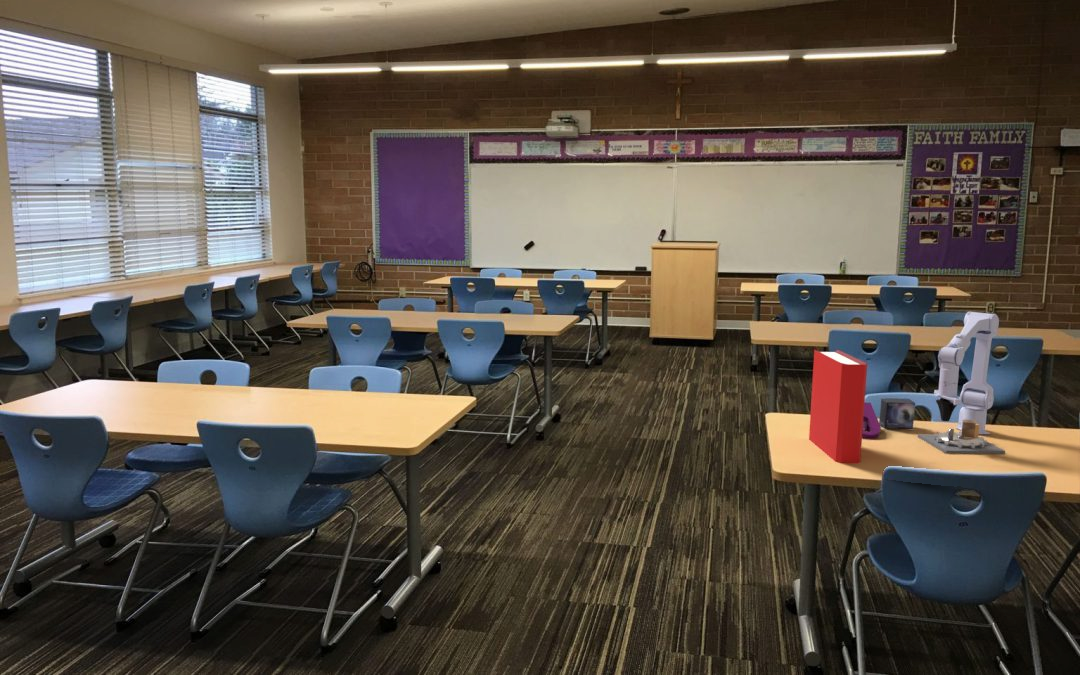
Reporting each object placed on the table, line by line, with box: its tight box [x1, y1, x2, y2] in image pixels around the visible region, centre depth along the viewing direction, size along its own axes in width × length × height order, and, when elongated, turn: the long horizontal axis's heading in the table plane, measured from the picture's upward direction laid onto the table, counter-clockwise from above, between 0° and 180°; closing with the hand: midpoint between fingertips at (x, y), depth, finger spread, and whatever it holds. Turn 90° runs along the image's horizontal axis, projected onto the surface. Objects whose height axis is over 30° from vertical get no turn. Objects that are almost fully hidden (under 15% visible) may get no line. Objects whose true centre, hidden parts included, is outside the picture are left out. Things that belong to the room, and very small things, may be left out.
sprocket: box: [934, 428, 988, 448], centre depth 292 cm, size 16×16×5 cm
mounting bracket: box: [862, 402, 882, 440], centre depth 308 cm, size 9×8×18 cm
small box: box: [878, 397, 916, 430], centre depth 314 cm, size 11×6×10 cm, turn 88°
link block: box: [961, 419, 976, 437], centre depth 294 cm, size 4×4×5 cm
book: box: [808, 349, 868, 464], centre depth 282 cm, size 27×8×32 cm, turn 1°
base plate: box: [917, 424, 1006, 455], centre depth 292 cm, size 20×20×6 cm
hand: (945, 420), depth 292 cm, fingers closed
